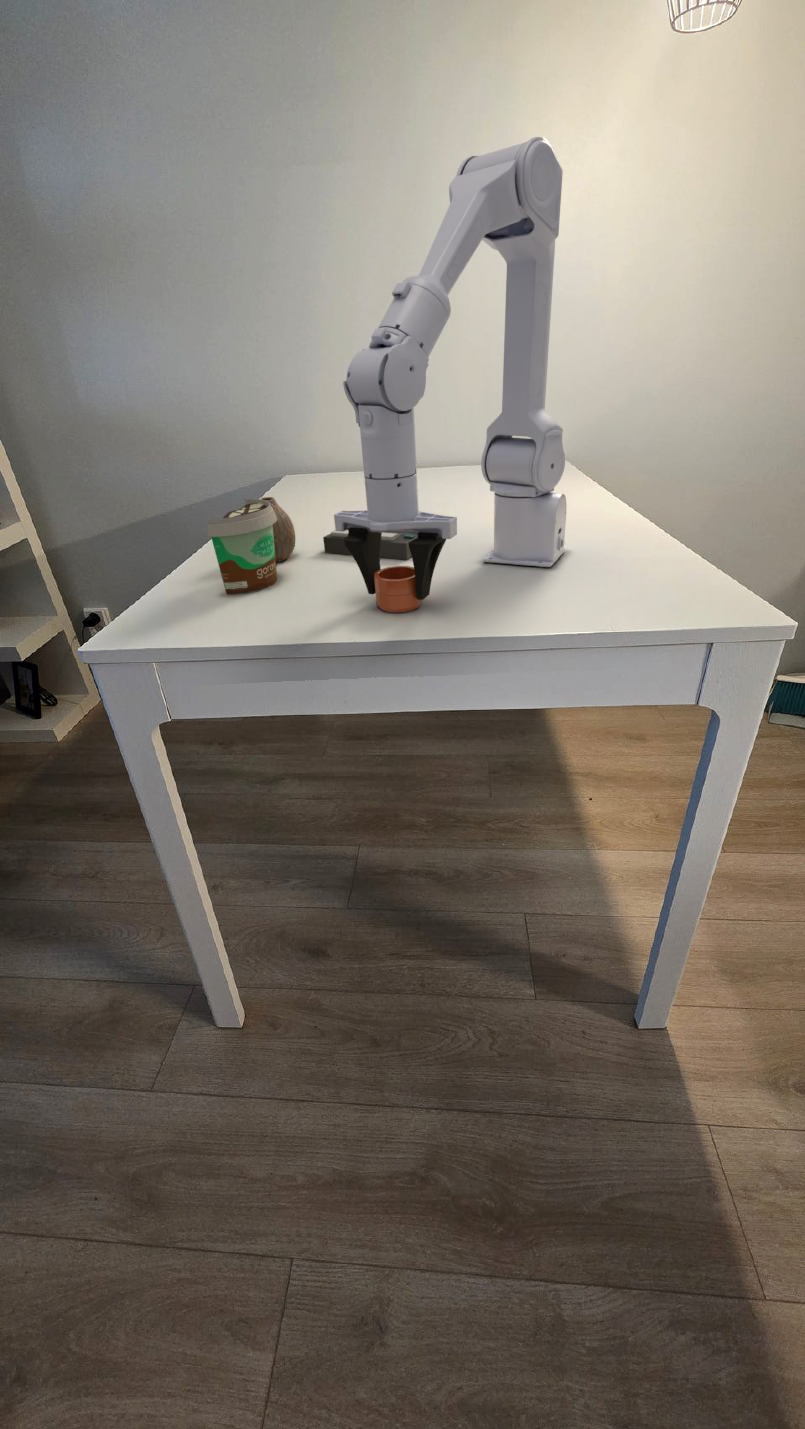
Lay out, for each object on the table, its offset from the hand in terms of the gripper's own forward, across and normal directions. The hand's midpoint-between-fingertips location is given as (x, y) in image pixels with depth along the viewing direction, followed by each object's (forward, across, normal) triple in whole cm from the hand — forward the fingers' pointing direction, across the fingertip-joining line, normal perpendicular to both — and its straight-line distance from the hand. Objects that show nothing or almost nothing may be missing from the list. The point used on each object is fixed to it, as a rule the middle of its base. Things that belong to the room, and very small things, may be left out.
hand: (398, 594), depth 76 cm
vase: (+2, -27, +12) cm, 30 cm away
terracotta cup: (+1, 0, 0) cm, 1 cm away
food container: (+2, -22, +2) cm, 22 cm away
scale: (+1, -14, +22) cm, 26 cm away
